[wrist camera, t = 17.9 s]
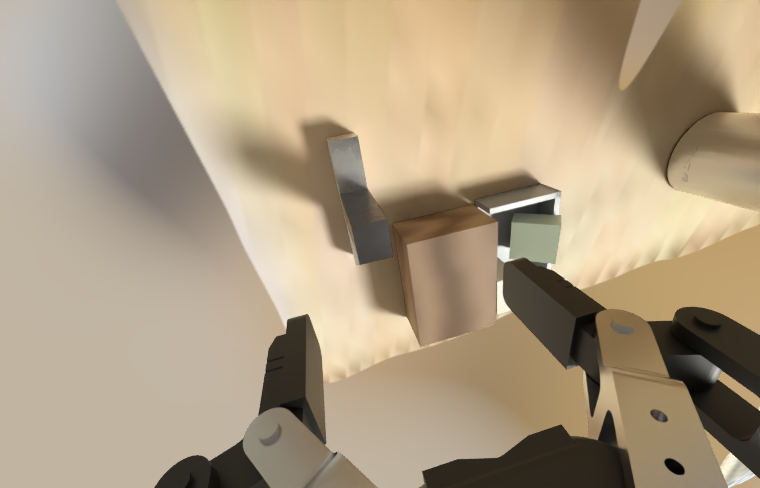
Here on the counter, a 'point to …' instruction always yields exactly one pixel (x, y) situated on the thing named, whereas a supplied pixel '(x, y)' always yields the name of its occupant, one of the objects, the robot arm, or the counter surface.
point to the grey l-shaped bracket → (358, 202)
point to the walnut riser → (448, 272)
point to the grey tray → (518, 211)
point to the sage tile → (535, 237)
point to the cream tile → (500, 289)
